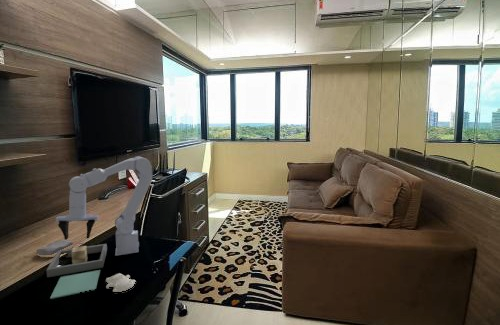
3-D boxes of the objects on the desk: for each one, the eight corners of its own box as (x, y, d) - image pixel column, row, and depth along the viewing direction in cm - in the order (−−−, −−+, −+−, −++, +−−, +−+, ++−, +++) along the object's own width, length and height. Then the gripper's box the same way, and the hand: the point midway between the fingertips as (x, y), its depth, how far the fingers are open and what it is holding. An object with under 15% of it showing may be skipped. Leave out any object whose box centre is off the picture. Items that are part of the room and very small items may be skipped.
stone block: (34, 260, 112) (52, 259, 110) (31, 250, 112) (50, 248, 110) (59, 249, 124) (76, 247, 122) (57, 239, 124) (74, 237, 121)
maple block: (87, 258, 111) (86, 245, 110) (85, 263, 107) (84, 250, 106) (75, 260, 109) (73, 247, 108) (72, 266, 105) (71, 252, 104)
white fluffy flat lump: (125, 273, 101) (125, 266, 100) (139, 286, 93) (139, 278, 92) (101, 283, 94) (100, 275, 94) (113, 297, 86) (113, 289, 86)
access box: (107, 249, 119) (106, 243, 119) (103, 267, 104) (102, 260, 104) (58, 257, 112) (58, 250, 111) (47, 277, 97) (46, 270, 96)
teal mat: (100, 270, 102) (100, 269, 102) (95, 289, 90) (95, 288, 90) (60, 277, 97) (60, 276, 97) (50, 299, 85) (50, 297, 85)
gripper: (52, 209, 99) (52, 243, 100) (96, 208, 104) (95, 240, 105) (59, 204, 106) (59, 236, 107) (99, 203, 111) (99, 234, 112)
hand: (77, 238), depth 106 cm, fingers open, 7 cm apart
